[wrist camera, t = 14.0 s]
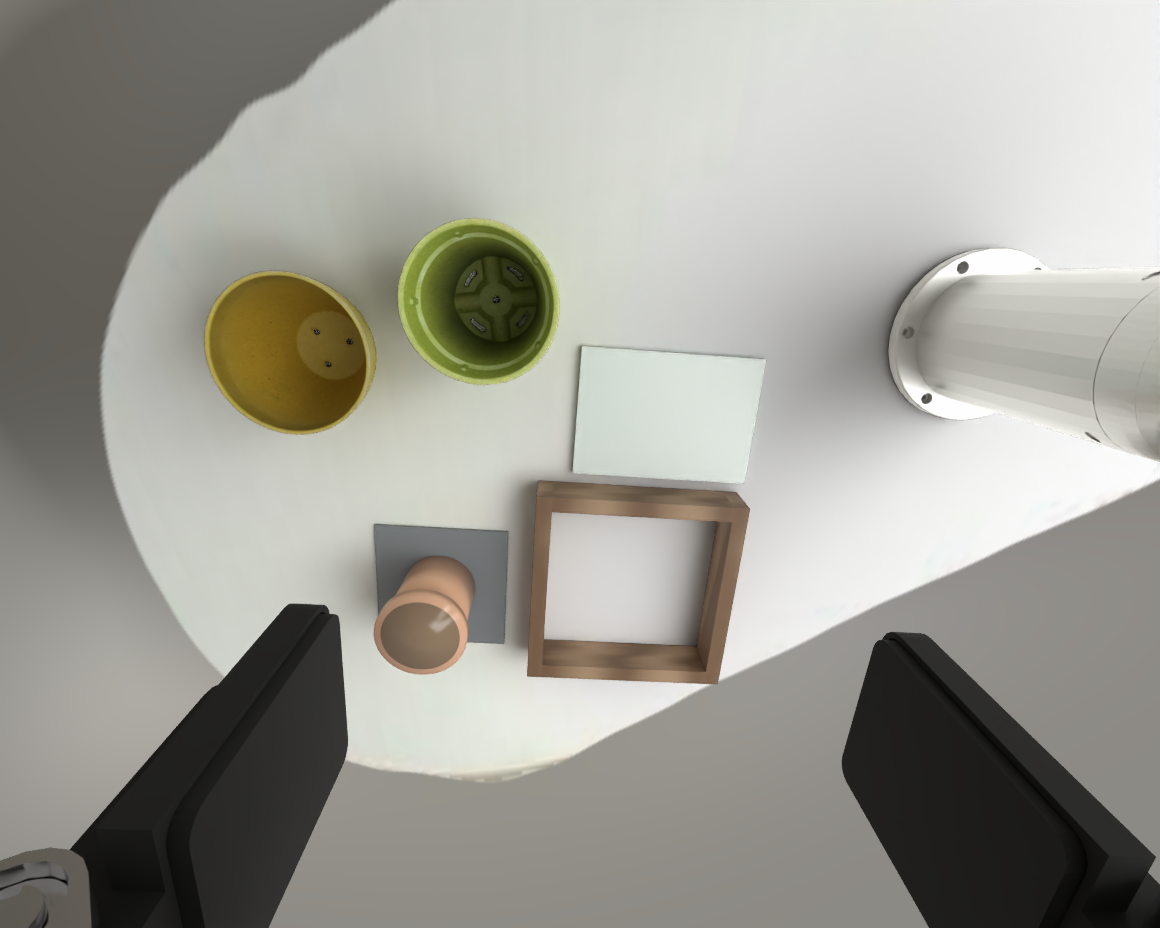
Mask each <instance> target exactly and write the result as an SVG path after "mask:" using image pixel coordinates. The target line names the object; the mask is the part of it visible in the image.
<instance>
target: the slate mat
mask: <svg viewBox="0 0 1160 928" xmlns="http://www.w3.org/2000/svg"><path fill="white" fill-rule="evenodd" d="M374 529H375V550H376V572H377V593H378V615H379V614H380V612H381V610H382V609H383V607H384V605H385V604H386V603H387V602H388V601H389V600H390V599H391V598H393V597H394V596H396V594H397V592H398V590H399V588H400V586H401V584H402V583H403V581H404V579H405V577H406V575H407V573H408V571H409V570H410V568H411V567H412V566H413V565H414V564H415V563H416V562H418V561H419V560H421V559H423V558H426V557H430V556H447V557H451V558H453V559H456V560H458V561H459V562H461V563H462V564H464V565H465V566H466V567H467V568H468V569H469V571H470V572H471V574H472V576H473V578H474V581H475V595H474V599H473V602H472V606H471V609H470V613H469V616H468V620H467V621H468V626H469V634H468V639H467V642H474V643H496V644H504V635H505V608H506V581H507V554H508V531H491V530H472V529H454V528H436V527H418V526H400V525H381V524H375V525H374Z"/></svg>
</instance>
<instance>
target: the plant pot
mask: <svg viewBox="0 0 1160 928" xmlns="http://www.w3.org/2000/svg"><path fill="white" fill-rule="evenodd" d="M509 267H511V268H513V269H515V270H517V271H518V272H519V273H520V274H522V276H523V280H522V281H520V280H519V279H518V278H517V277H516V276H515V275H514V274H513V273H512V272H510V270H508V269H507V268H509ZM473 271H477V275H476V276H475V277H474V278H473V279H472V281H471V282H470V284H469V286H468V287H465V282H466V280H467V279H468V276H469V274H470V273H472V272H473ZM495 296H498V297H499V298H500V301H499V303H497V304H496V303H494V302H493V298H494V297H495ZM398 308H399V314H400V319H401V322H402V325H403V328H404V331H405V333H406V335H407V337H408V339H409V341H410V342H411V344H412V346H413V347H414V349H415V350H416V351H417V352H418V354H419V355H420V356H421V357H422V358H423V359H424V360H425V361H426V362H427V363H428V364H430V365H431V366H432V367H433V368H435V369H436V370H438V371H439V372H441V373H443V374H444V375H446V376H448V377H451V378H453V379H455V380H458V381H462V382H465V383H470V384H477V385H491V384H499V383H504V382H507V381H510V380H513V379H515V378H517V377H519V376H521V375H523V374H524V373H526V372H527V371H529V370H530V369H531V368H532V367H533V366H535V365H536V364H537V363H538V362H539V361H540V359H541V358H542V357H543V356H544V354H545V353H546V351H547V350H548V348H549V347H550V345H551V343H552V340H553V338H554V335H555V333H556V329H557V325H558V320H559V310H560V304H559V293H558V287H557V283H556V279H555V276H554V274H553V271H552V269H551V267H550V265H549V263H548V262H547V260H546V258H545V257H544V256H543V254H542V253H541V252H540V250H539V249H538V248H537V247H536V246H535V245H534V244H533V243H532V242H531V241H530V240H529V239H528V238H527V237H526V236H524V235H523V234H521V233H520V232H519V231H517V230H515V229H513V228H512V227H510V226H507V225H505V224H502V223H500V222H496V221H492V220H488V219H480V218H467V219H460V220H455V221H451V222H448V223H446V224H444V225H441V226H439V227H437V228H435V229H434V230H432V231H431V232H429V233H428V234H427V235H425V236H424V237H423V238H422V239H421V240H420V241H419V242H418V243H417V245H416V246H415V247H414V248H413V250H412V251H411V253H410V254H409V256H408V258H407V260H406V262H405V264H404V266H403V269H402V272H401V275H400V279H399V285H398ZM525 312H528V317H527V319H526V321H525V322H524V324H523V325H522V326H521V327H517V326H516V324H517V323H518V322H519V321H520V320H521V319H522V317H523V316H524V314H525ZM471 318H474V319H475V320H476V321H477V322H478V323H479V324H480V325H481V326H483V327H485V328H486V331H480V330H479V329H478V328H476V327H475V326H474V325H473V324H472V322H471Z"/></svg>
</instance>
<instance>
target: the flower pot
mask: <svg viewBox="0 0 1160 928" xmlns="http://www.w3.org/2000/svg"><path fill="white" fill-rule="evenodd" d="M315 329H317V330H319V332H320V334H318V335H317V334H315V333H314V330H315ZM347 339H351V340H352V341H353V344H351V345H349V344H348V343H347ZM204 347H205V355H206V360H207V364H208V367H209V369H210V372H211V375H212V377H213V379H214V381H215V383H216V385H217V386H218V388H219V389H220V391H221V392H222V394H223V395H224V396H225V398H226V399H227V400H228V401H229V402H230V403H231V404H232V406H233V407H235V408H236V409H237V410H238V411H239V412H240V413H241V414H243V415H244V416H246V417H247V418H248V419H250V420H252V421H253V422H255V423H257V424H259V425H261V426H263V427H265V428H268V429H271V430H273V431H277V432H281V433H286V434H296V435H303V434H313V433H317V432H321V431H324V430H327V429H329V428H332V427H334V426H336V425H337V424H339V423H341V422H342V421H343V420H345V419H346V418H347V417H348V416H349V415H350V414H351V413H352V412H353V411H354V410H355V409H356V408H357V407H358V406H359V404H360V403H361V402H362V400H363V399H364V397H365V396H366V394H367V392H368V390H369V388H370V385H371V383H372V380H373V377H374V373H375V368H376V348H375V343H374V339H373V336H372V333H371V331H370V328H369V326H368V324H367V323H366V321H365V319H364V318H363V316H362V315H361V314H360V312H359V311H358V310H357V309H356V308H355V307H354V306H353V305H352V304H351V303H350V302H349V301H348V300H347V299H346V298H345V297H343V296H342V295H341V294H339V293H338V292H336V291H335V290H333V289H332V288H330V287H328V286H327V285H325V284H323V283H321V282H319V281H316V280H314V279H312V278H309V277H306V276H303V275H300V274H296V273H292V272H286V271H261V272H256V273H253V274H250V275H247V276H244V277H242V278H240V279H238V280H237V281H235V282H233V283H232V284H231V285H229V286H228V287H227V288H226V289H225V290H224V291H223V292H222V293H221V294H220V296H219V297H218V298H217V300H216V301H215V302H214V304H213V306H212V308H211V310H210V312H209V315H208V318H207V322H206V325H205V332H204ZM326 362H330V363H331V367H327V365H326Z"/></svg>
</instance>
